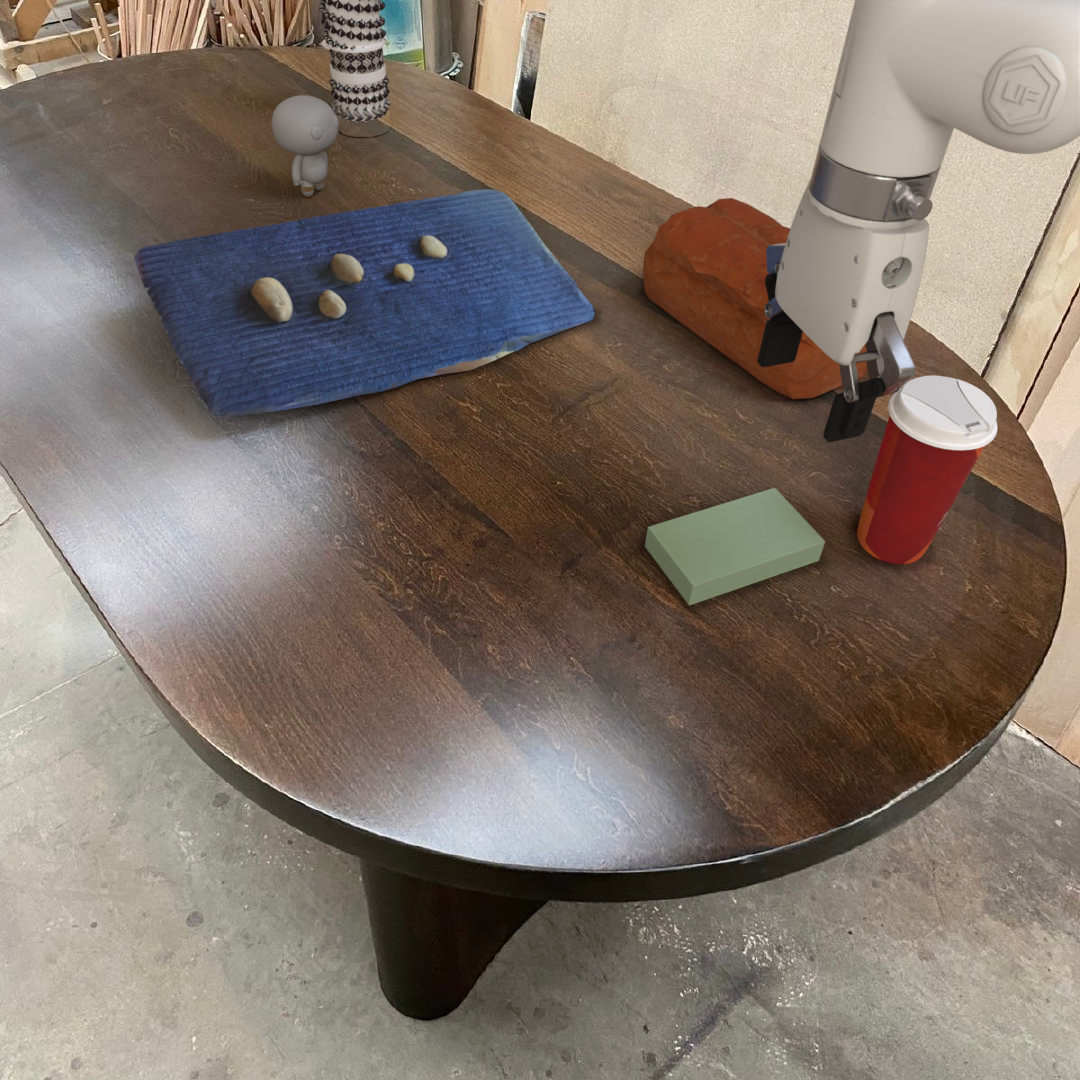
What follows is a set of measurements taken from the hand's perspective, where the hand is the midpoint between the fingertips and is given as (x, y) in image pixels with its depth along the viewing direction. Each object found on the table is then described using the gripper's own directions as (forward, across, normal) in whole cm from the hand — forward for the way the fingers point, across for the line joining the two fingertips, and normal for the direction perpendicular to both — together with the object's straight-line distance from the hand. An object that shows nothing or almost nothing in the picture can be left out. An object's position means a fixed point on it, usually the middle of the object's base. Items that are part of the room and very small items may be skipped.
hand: (807, 398), depth 73 cm
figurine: (+16, +77, +25) cm, 82 cm away
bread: (+15, +30, -15) cm, 37 cm away
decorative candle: (+16, +97, +14) cm, 99 cm away
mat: (+16, +45, +24) cm, 53 cm away
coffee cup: (+15, -4, -10) cm, 19 cm away
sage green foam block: (+15, -1, +4) cm, 16 cm away
